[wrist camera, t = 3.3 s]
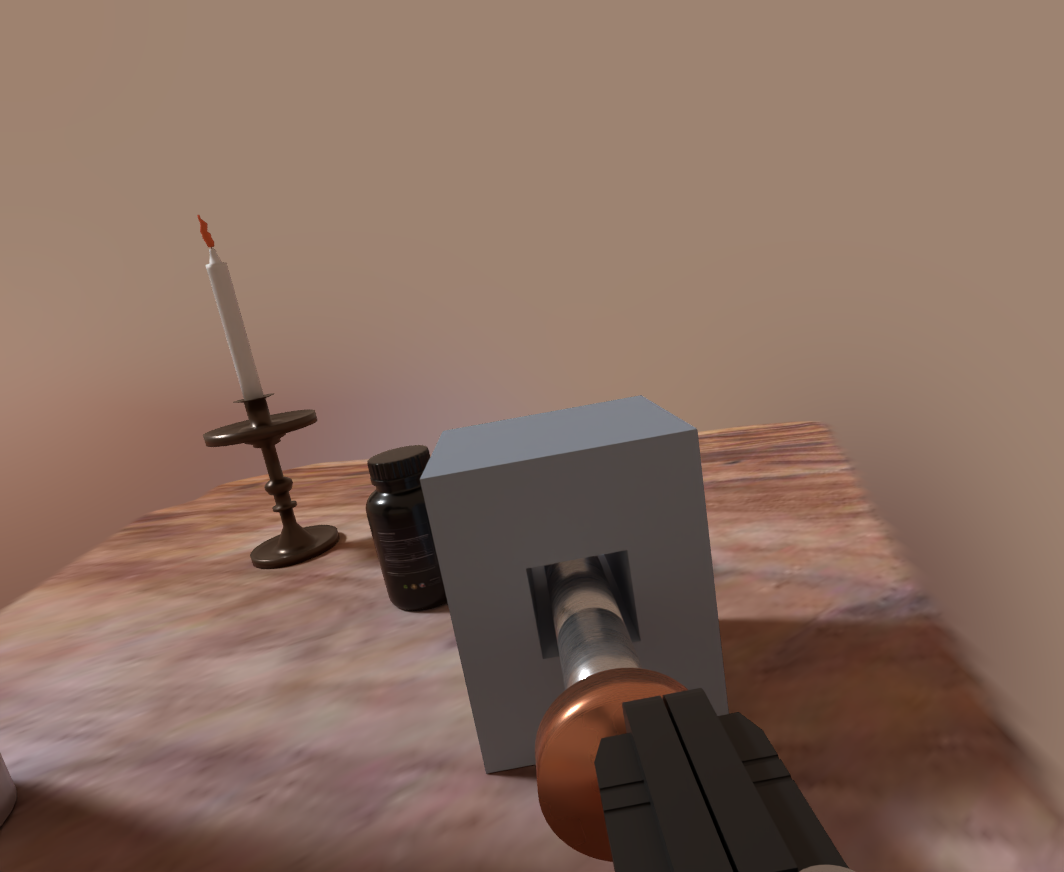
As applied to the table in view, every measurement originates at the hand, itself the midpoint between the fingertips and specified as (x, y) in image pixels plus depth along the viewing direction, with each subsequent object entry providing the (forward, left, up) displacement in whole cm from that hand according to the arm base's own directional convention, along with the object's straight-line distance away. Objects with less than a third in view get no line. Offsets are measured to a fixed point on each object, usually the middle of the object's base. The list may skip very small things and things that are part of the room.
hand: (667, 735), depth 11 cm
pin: (-12, +9, -9) cm, 17 cm away
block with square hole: (-15, +12, -13) cm, 23 cm away
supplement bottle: (-34, +13, -13) cm, 39 cm away
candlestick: (-57, +10, -13) cm, 60 cm away
